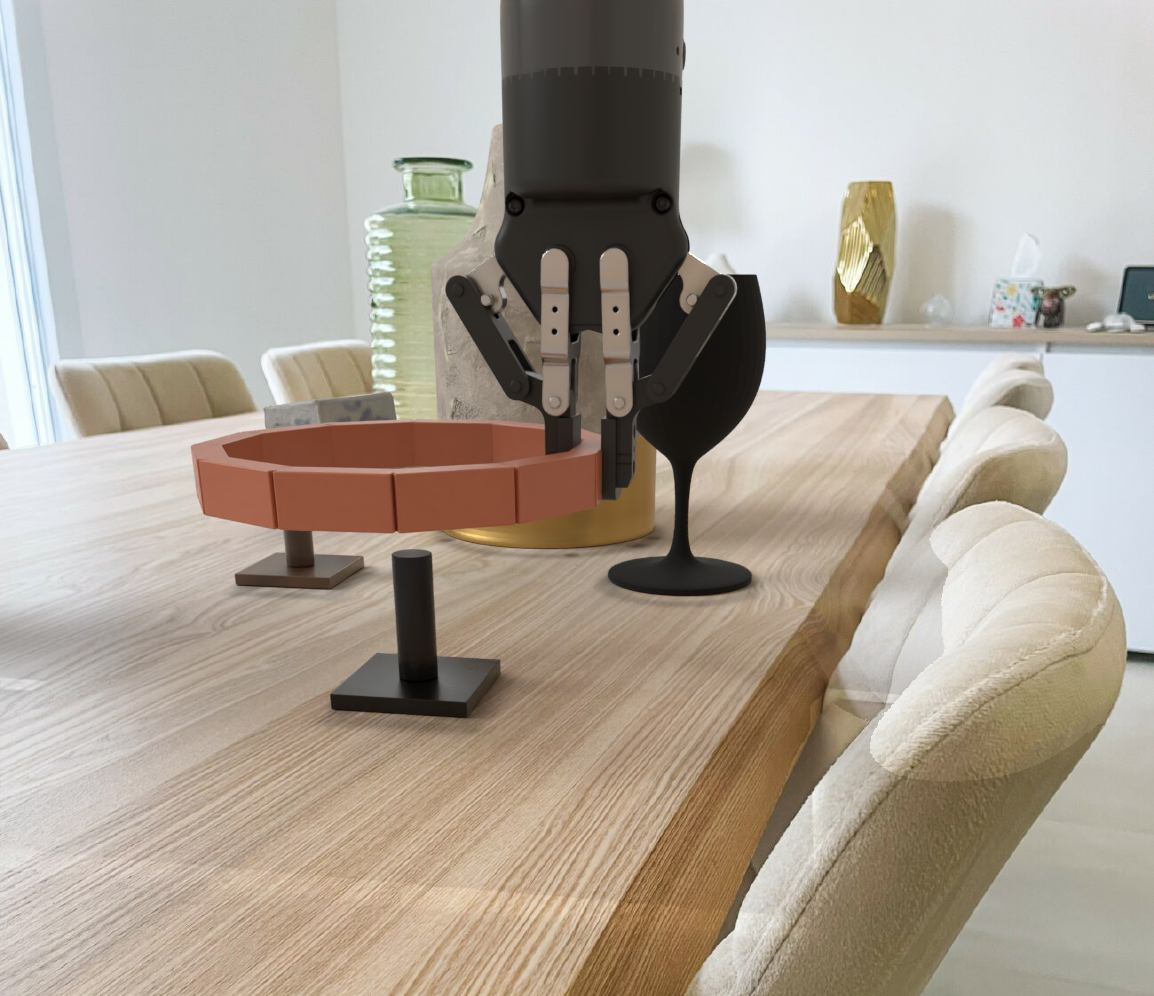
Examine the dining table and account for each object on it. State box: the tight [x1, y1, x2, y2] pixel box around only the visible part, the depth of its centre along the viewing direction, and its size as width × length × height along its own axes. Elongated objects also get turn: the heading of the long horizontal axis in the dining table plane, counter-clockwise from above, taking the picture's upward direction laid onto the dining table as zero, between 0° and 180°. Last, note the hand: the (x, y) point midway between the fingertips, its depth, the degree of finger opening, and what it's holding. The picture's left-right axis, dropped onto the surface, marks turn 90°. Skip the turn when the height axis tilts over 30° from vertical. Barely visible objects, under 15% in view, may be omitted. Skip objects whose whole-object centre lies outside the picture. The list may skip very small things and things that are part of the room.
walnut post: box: [234, 425, 365, 590], centre depth 81 cm, size 7×7×10 cm
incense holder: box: [262, 391, 406, 469], centre depth 104 cm, size 10×8×10 cm
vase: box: [430, 123, 657, 549], centre depth 94 cm, size 18×18×30 cm
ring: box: [190, 418, 602, 535], centre depth 55 cm, size 19×19×2 cm
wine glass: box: [607, 273, 767, 596], centre depth 79 cm, size 10×10×20 cm
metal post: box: [329, 548, 501, 718], centre depth 59 cm, size 7×7×7 cm
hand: (591, 496), depth 54 cm, fingers closed on ring, 1 cm apart
